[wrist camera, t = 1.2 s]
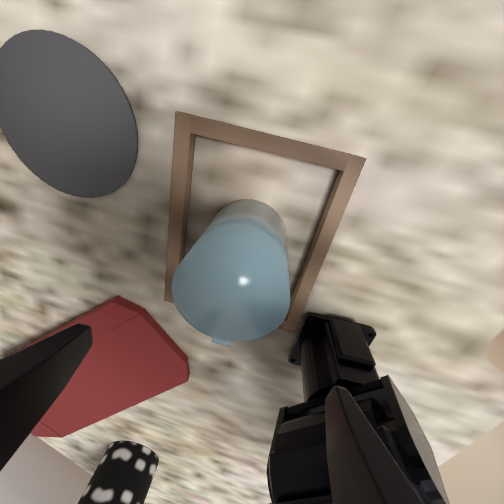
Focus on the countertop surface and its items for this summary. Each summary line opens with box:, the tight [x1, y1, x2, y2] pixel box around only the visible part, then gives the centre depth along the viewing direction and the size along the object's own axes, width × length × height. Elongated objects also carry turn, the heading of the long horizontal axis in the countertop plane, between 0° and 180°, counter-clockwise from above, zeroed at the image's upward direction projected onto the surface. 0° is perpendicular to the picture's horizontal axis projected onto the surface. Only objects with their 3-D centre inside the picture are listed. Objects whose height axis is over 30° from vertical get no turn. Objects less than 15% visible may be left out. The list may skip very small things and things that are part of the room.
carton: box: [8, 296, 190, 437], centre depth 28 cm, size 12×5×25 cm
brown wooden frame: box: [164, 111, 366, 332], centre depth 18 cm, size 15×12×1 cm
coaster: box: [0, 30, 138, 198], centre depth 16 cm, size 10×10×1 cm
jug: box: [172, 199, 290, 346], centre depth 16 cm, size 8×6×8 cm
